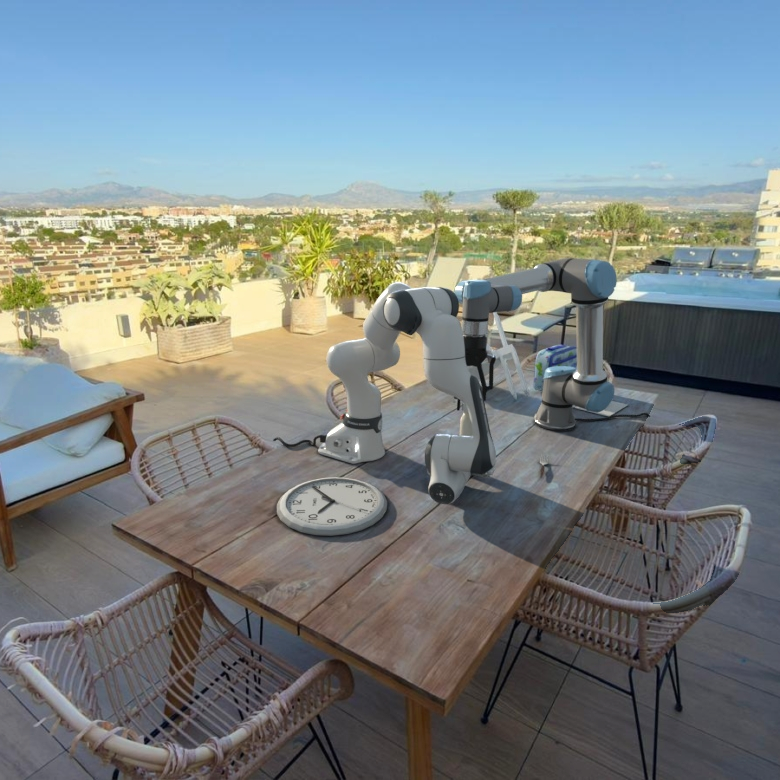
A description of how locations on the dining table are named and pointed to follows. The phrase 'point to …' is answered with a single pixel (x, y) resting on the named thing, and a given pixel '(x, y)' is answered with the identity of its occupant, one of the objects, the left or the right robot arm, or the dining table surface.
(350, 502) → the wall clock
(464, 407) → the cap
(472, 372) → the white plastic object
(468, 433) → the bottle
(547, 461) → the fork
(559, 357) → the lunch box
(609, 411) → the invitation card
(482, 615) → the dining table surface
